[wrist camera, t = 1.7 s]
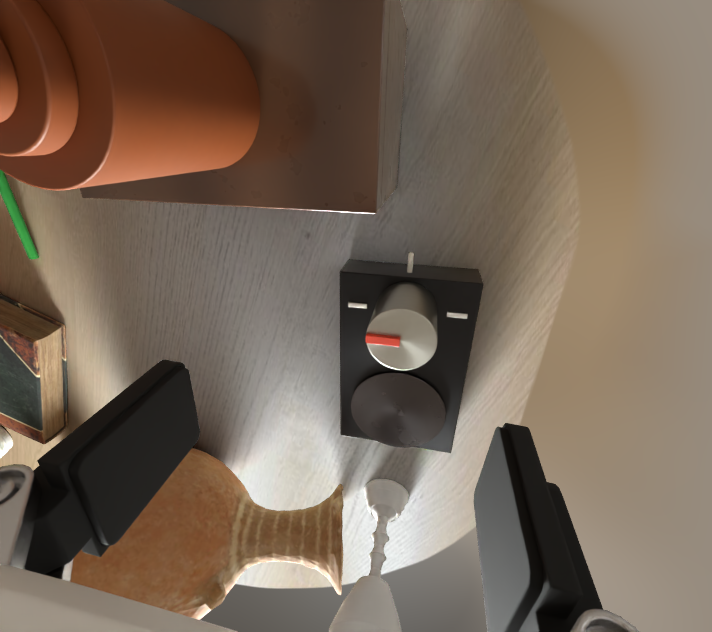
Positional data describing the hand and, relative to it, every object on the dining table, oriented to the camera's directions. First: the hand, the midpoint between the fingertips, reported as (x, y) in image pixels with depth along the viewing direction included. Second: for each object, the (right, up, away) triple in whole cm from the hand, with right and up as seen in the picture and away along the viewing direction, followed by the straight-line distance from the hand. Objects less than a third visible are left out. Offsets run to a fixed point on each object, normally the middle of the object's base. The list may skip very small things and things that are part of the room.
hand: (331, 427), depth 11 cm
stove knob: (+4, +4, +15) cm, 16 cm away
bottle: (-6, +13, +5) cm, 15 cm away
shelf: (-4, +17, +14) cm, 22 cm away
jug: (-14, -16, +33) cm, 39 cm away
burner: (+4, -5, +19) cm, 20 cm away
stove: (+5, 0, +20) cm, 21 cm away
